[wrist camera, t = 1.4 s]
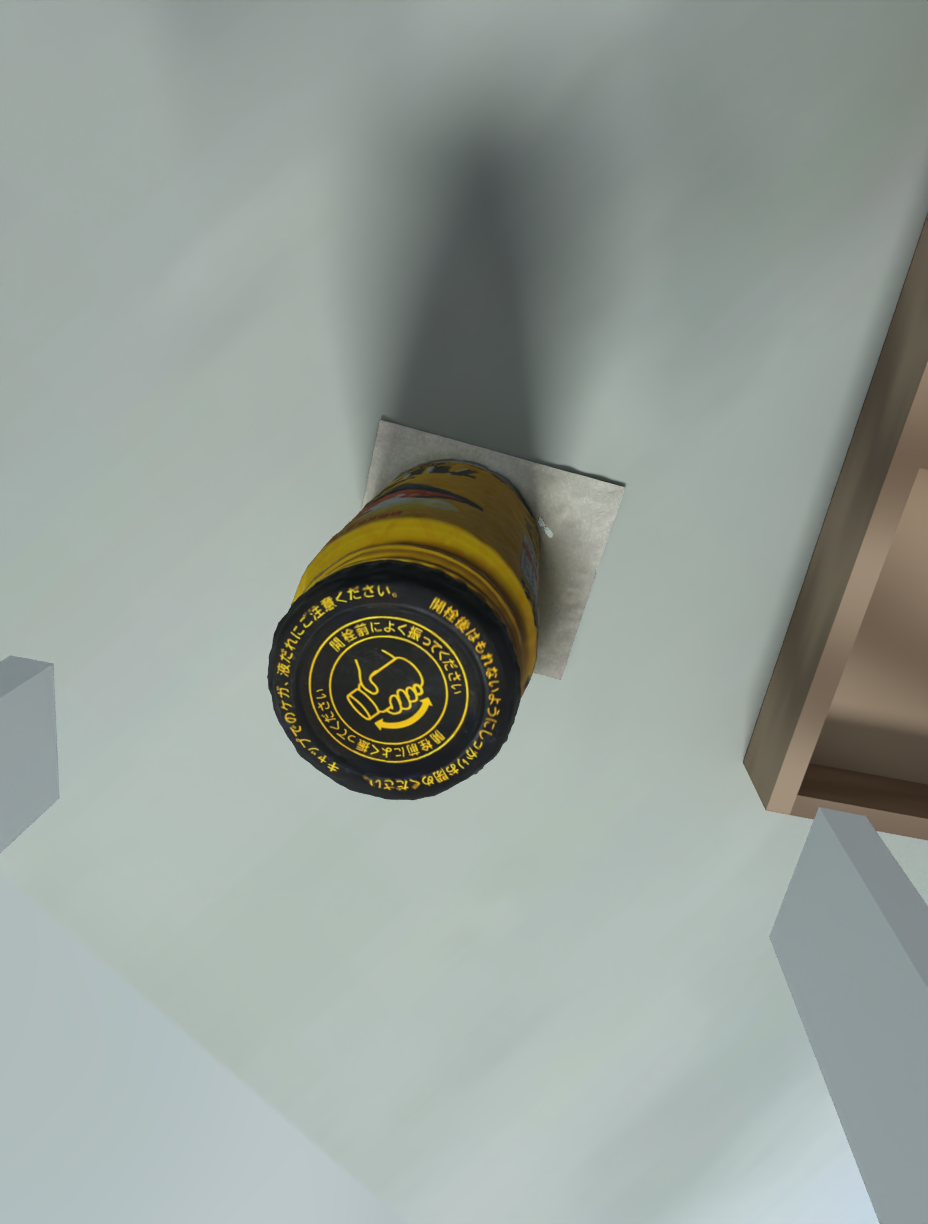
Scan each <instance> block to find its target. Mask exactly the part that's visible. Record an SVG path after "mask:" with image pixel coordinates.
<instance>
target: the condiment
mask: <svg viewBox="0 0 928 1224" xmlns="http://www.w3.org/2000/svg"><path fill="white" fill-rule="evenodd" d="M624 491H625V487H622V486H618V485H615V484H611V483H607V482H603V481H600V480H596V479H593V478H589V477H586V476H582V475H579V474H574V473H570V472H567V471H563V470H560V469H556V468H552V467H549V466H546V465H542V464H538V463H534V462H531V461H528V460H524V459H521V458H517V457H514V456H510V455H507V454H503V453H500V452H496V451H493V450H489V449H486V448H482V447H478V446H475V445H471V444H467V443H464V442H460V441H457V440H453V439H449V438H446V437H442V436H439V435H435V434H432V433H428V432H424V431H420V430H417V429H414V428H410V427H406V426H403V425H399V424H395V423H391V422H387V421H382V420H380V421H379V427H378V432H377V436H376V441H375V446H374V450H373V455H372V461H371V465H370V470H369V476H368V481H367V485H366V490H365V495H364V499H363V505H362V509H361V511H360V512H359V513H358V515H357V516H356V517H355V518H354V519H352V521H351V522H349V523H348V524H347V525H346V526H345V527H344V528H343V530H342V531H340V532H339V533H338V534H336V535H335V536H333V537H332V539H331V540H330V541H329V542H328V543H327V544H326V545H325V546H324V547H323V549H322V550H321V551H320V552H319V553H318V555H317V556H316V557H315V558H314V559H313V561H312V562H311V563H310V564H309V565H308V567H307V569H306V571H305V572H304V574H303V576H302V578H301V580H300V583H299V586H298V588H297V591H296V594H295V596H294V599H293V602H292V604H291V607H290V609H289V611H288V613H287V614H286V615H285V616H284V617H283V618H282V619H281V621H280V622H279V623H278V626H277V629H276V631H275V633H274V637H273V644H272V649H271V651H270V654H269V667H268V676H267V678H268V686H269V691H270V693H271V695H272V702H273V707H274V711H275V714H276V716H277V718H278V721H279V723H280V724H281V726H282V727H283V729H284V731H285V733H286V735H287V736H288V738H289V739H290V741H291V742H292V743H293V745H294V746H295V748H296V751H297V752H298V754H299V755H300V756H301V757H302V758H304V759H305V760H306V761H308V762H309V763H310V764H312V765H313V766H314V767H315V768H316V769H318V770H319V771H321V772H322V773H323V774H325V775H327V776H328V777H330V778H331V779H332V780H334V781H335V782H336V783H338V784H340V785H342V786H344V787H346V788H348V789H349V790H352V791H355V792H359V793H363V794H368V795H372V796H375V797H381V798H384V799H391V800H416V799H420V798H424V797H430V796H435V795H437V794H439V793H441V792H443V791H446V790H448V789H449V788H451V787H453V786H454V785H456V784H458V783H460V782H462V781H464V780H466V779H468V778H469V777H470V776H472V775H474V774H477V773H478V772H479V770H481V769H483V767H484V765H485V764H487V763H488V762H489V761H491V760H492V759H493V758H494V757H495V756H496V755H497V754H498V752H499V751H500V749H501V747H502V745H503V744H504V743H505V742H506V741H507V739H508V735H509V733H510V730H511V727H512V725H513V724H514V720H515V716H516V714H517V710H518V707H519V703H520V699H521V697H522V695H523V693H524V691H525V689H526V687H527V685H528V683H529V681H530V679H531V676H532V674H533V673H537V674H541V675H545V676H549V677H552V678H556V679H560V680H561V678H562V675H563V672H564V669H565V666H566V663H567V659H568V656H569V653H570V650H571V647H572V644H573V641H574V638H575V635H576V632H577V629H578V626H579V623H580V620H581V617H582V614H583V611H584V608H585V605H586V602H587V599H588V596H589V593H590V590H591V587H592V584H593V582H594V579H595V575H596V570H597V568H598V566H599V564H600V561H601V558H602V555H603V552H604V549H605V547H606V544H607V541H608V538H609V534H610V531H611V528H612V525H613V522H614V520H615V517H616V515H617V512H618V509H619V506H620V503H621V500H622V497H623V494H624ZM539 517H542V518H543V521H544V523H545V524H546V525H545V527H548V528H549V529H550V530H551V531H552V532H553V538H549V537H548V536H547V535H546V533H545V531H544V527H540V526H539V524H538V519H539Z"/></svg>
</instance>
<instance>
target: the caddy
mask: <svg viewBox="0 0 928 1224" xmlns="http://www.w3.org/2000/svg"><path fill="white" fill-rule="evenodd" d="M743 764H744V766H745V768H746V770H747V772H748V774H749V776H750V778H751V780H752V783H753V785H754V787H755V789H756V791H757V793H758V795H759V797H760V799H761V801H762V803H763V805H764V807H765V810H766V811H771V812H777V813H782V814H788V815H793V816H799V817H804V818H809V819H814V818H815V816H816V813H817V811H818V808H819V807H821V808H826V809H831V810H837V811H842V812H847V813H853V814H858V815H863V816H866V817H867V819H868V820H869V822H870V823H871V825H872V826H873V827H874V829H875V830H876V831H880V832H886V833H891V834H896V835H902V836H907V837H913V838H918V839H924V840H928V216H927V219H926V222H925V225H924V227H923V230H922V233H921V236H920V239H919V242H918V245H917V248H916V251H915V254H914V257H913V260H912V263H911V266H910V269H909V272H908V275H907V278H906V281H905V284H904V287H903V290H902V293H901V296H900V299H899V302H898V305H897V308H896V311H895V314H894V316H893V319H892V322H891V325H890V328H889V331H888V334H887V337H886V340H885V343H884V346H883V349H882V352H881V355H880V358H879V361H878V364H877V367H876V370H875V373H874V376H873V379H872V382H871V385H870V388H869V391H868V394H867V397H866V400H865V402H864V405H863V408H862V411H861V414H860V417H859V420H858V423H857V426H856V429H855V432H854V435H853V438H852V441H851V444H850V447H849V450H848V453H847V456H846V459H845V462H844V465H843V468H842V471H841V474H840V477H839V480H838V483H837V486H836V488H835V491H834V494H833V497H832V500H831V503H830V506H829V509H828V512H827V515H826V518H825V521H824V524H823V527H822V530H821V533H820V536H819V539H818V542H817V545H816V548H815V551H814V554H813V557H812V560H811V563H810V566H809V569H808V572H807V574H806V577H805V580H804V583H803V586H802V589H801V592H800V595H799V598H798V601H797V604H796V607H795V610H794V613H793V616H792V619H791V622H790V625H789V628H788V631H787V634H786V637H785V640H784V643H783V646H782V649H781V652H780V655H779V658H778V661H777V663H776V666H775V669H774V672H773V675H772V678H771V681H770V684H769V687H768V690H767V693H766V696H765V699H764V702H763V705H762V708H761V711H760V714H759V717H758V720H757V723H756V726H755V729H754V732H753V735H752V738H751V741H750V744H749V747H748V749H747V752H746V755H745V758H744V761H743Z"/></svg>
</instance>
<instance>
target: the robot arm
mask: <svg viewBox="0 0 928 1224" xmlns="http://www.w3.org/2000/svg"><path fill="white" fill-rule="evenodd" d="M58 799H59V779H58V756H57V733H56V711H55V688H54V666H53V663H47V662H42V661H37V660H31V659H26V658H21V657H15V656H9V657H8V658H6V659H4V660H2V661H1V662H0V853H1V852H2V851H3V850H4V849H5V848H6V847H7V846H9V845H10V844H11V843H12V842H13V841H14V840H15V839H16V838H17V837H18V836H19V835H20V834H21V833H22V832H24V831H25V830H26V829H27V828H28V827H29V826H30V825H31V824H32V823H33V822H34V821H35V820H36V819H37V818H39V817H40V816H41V815H42V814H43V813H44V812H45V811H46V810H47V809H48V808H49V807H50V806H51V805H52V804H54V803H55V802H56V801H57V800H58ZM769 937H770V940H771V942H772V945H773V947H774V950H775V953H776V955H777V958H778V960H779V963H780V966H781V968H782V971H783V973H784V976H785V979H786V981H787V984H788V986H789V989H790V992H791V994H792V997H793V999H794V1002H795V1005H796V1007H797V1010H798V1012H799V1015H800V1018H801V1020H802V1023H803V1025H804V1028H805V1031H806V1033H807V1036H808V1038H809V1041H810V1044H811V1046H812V1049H813V1051H814V1054H815V1057H816V1059H817V1062H818V1064H819V1067H820V1070H821V1072H822V1075H823V1077H824V1080H825V1083H826V1085H827V1088H828V1090H829V1093H830V1096H831V1098H832V1101H833V1103H834V1106H835V1109H836V1111H837V1114H838V1116H839V1119H840V1122H841V1124H842V1127H843V1129H844V1132H845V1135H846V1137H847V1140H848V1142H849V1145H850V1148H851V1150H852V1153H853V1155H854V1158H855V1161H856V1163H857V1166H858V1168H859V1171H860V1174H861V1176H862V1179H863V1181H864V1184H865V1187H866V1189H867V1192H868V1194H869V1197H870V1200H871V1202H872V1205H873V1207H874V1210H875V1213H876V1215H877V1218H878V1220H879V1223H880V1224H928V906H927V904H926V903H925V902H924V900H923V899H922V897H921V896H920V894H919V893H918V891H917V890H916V888H915V887H914V886H913V884H912V883H911V881H910V880H909V878H908V877H907V875H906V874H905V872H904V871H903V870H902V868H901V867H900V865H899V864H898V862H897V861H896V859H895V858H894V857H893V855H892V854H891V852H890V851H889V849H888V848H887V846H886V845H885V843H884V842H883V841H882V839H881V838H880V836H879V835H878V833H877V832H876V830H875V829H874V827H873V826H872V825H871V823H870V822H869V820H868V819H867V817H866V816H863V815H858V814H853V813H847V812H842V811H837V810H831V809H826V808H821V807H819V808H818V811H817V813H816V816H815V818H814V821H813V824H812V826H811V829H810V832H809V834H808V837H807V839H806V842H805V845H804V847H803V850H802V853H801V855H800V858H799V860H798V863H797V866H796V868H795V871H794V873H793V876H792V879H791V881H790V884H789V887H788V889H787V892H786V894H785V897H784V900H783V902H782V905H781V908H780V910H779V913H778V915H777V918H776V921H775V923H774V926H773V928H772V931H771V934H770V936H769Z"/></svg>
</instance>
